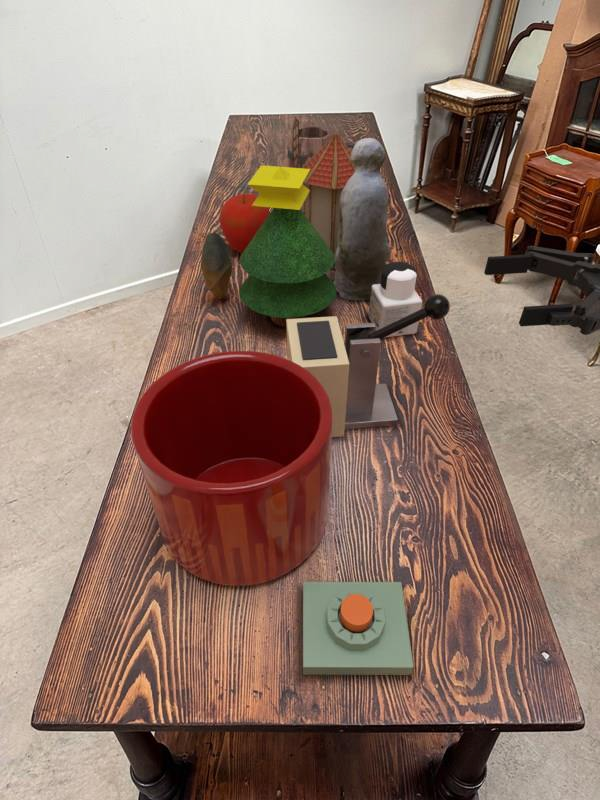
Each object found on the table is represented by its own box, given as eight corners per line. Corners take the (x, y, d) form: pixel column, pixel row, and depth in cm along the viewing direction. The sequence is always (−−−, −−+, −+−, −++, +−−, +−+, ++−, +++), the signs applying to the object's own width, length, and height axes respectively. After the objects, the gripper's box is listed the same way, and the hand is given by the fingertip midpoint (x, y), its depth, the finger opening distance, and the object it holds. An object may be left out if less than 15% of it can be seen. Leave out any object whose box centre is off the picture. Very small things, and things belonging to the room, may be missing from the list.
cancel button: (370, 601, 62) (371, 593, 61) (373, 632, 60) (374, 625, 58) (339, 601, 62) (339, 593, 61) (340, 632, 60) (341, 625, 58)
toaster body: (333, 387, 95) (336, 314, 84) (344, 436, 86) (349, 362, 76) (288, 390, 94) (286, 317, 84) (294, 440, 86) (293, 366, 75)
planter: (160, 465, 82) (131, 362, 68) (307, 441, 85) (308, 339, 72) (164, 608, 65) (127, 510, 52) (346, 571, 69) (357, 470, 55)
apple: (236, 236, 138) (231, 180, 128) (280, 243, 134) (278, 187, 125) (214, 258, 129) (207, 200, 119) (259, 267, 126) (256, 208, 116)
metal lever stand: (385, 389, 94) (395, 313, 84) (397, 425, 88) (410, 348, 77) (317, 394, 94) (319, 318, 83) (324, 431, 87) (327, 354, 76)
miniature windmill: (286, 228, 141) (283, 101, 120) (361, 229, 140) (371, 101, 120) (280, 275, 123) (275, 135, 103) (366, 276, 122) (378, 136, 102)
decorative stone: (230, 312, 112) (222, 245, 102) (201, 310, 113) (191, 244, 103) (239, 287, 119) (233, 223, 109) (212, 286, 120) (204, 221, 110)
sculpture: (382, 271, 124) (398, 132, 104) (387, 305, 114) (405, 158, 93) (333, 270, 125) (339, 131, 104) (332, 304, 114) (339, 157, 94)
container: (368, 317, 111) (373, 259, 102) (403, 312, 112) (412, 255, 103) (379, 339, 105) (386, 280, 96) (417, 334, 106) (427, 275, 97)
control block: (399, 590, 67) (403, 574, 64) (410, 675, 60) (416, 660, 57) (303, 590, 67) (303, 574, 64) (302, 674, 60) (302, 660, 57)
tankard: (276, 221, 143) (273, 142, 130) (283, 196, 156) (281, 121, 142) (364, 225, 142) (371, 145, 128) (364, 198, 154) (370, 123, 140)
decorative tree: (325, 350, 103) (331, 194, 82) (229, 337, 106) (212, 184, 85) (342, 296, 116) (350, 151, 96) (256, 287, 119) (246, 144, 99)
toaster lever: (448, 303, 80) (441, 285, 78) (456, 317, 77) (448, 298, 75) (356, 347, 84) (346, 331, 82) (360, 362, 81) (350, 345, 79)
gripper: (684, 354, 72) (531, 364, 71) (592, 262, 90) (469, 269, 89) (713, 306, 67) (549, 317, 66) (610, 219, 85) (479, 226, 84)
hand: (503, 289), depth 77 cm, fingers open, 13 cm apart
